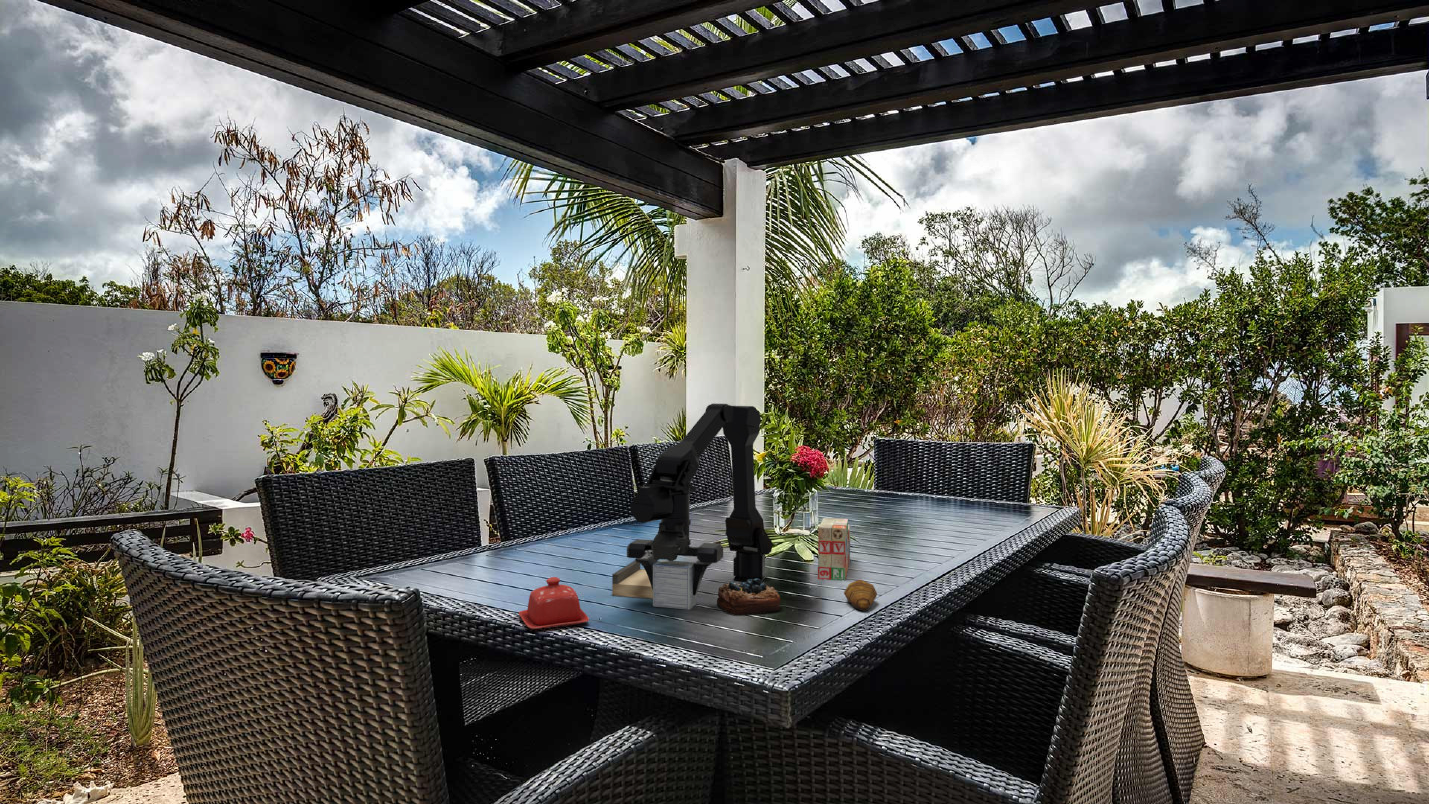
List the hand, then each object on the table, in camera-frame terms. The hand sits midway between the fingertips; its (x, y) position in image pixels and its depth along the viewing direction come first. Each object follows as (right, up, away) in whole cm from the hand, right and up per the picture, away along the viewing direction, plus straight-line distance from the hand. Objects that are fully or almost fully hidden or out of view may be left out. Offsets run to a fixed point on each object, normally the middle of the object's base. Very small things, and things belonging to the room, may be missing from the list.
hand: (674, 593), depth 161 cm
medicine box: (0, -3, 0) cm, 3 cm away
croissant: (+38, -3, +3) cm, 38 cm away
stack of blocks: (+37, -2, +32) cm, 49 cm away
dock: (-5, -2, +13) cm, 14 cm away
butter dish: (-22, -3, -11) cm, 25 cm away
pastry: (+15, -3, 0) cm, 15 cm away
